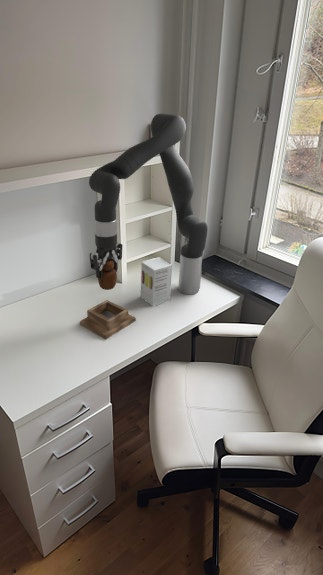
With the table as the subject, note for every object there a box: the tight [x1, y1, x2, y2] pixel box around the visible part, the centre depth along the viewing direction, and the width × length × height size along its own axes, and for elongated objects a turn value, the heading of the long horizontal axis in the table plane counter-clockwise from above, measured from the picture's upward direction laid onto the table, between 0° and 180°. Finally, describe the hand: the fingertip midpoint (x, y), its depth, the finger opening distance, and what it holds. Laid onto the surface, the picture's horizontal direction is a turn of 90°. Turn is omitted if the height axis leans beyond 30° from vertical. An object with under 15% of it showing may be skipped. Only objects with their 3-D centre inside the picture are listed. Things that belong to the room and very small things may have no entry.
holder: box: [79, 299, 137, 340], centre depth 156 cm, size 16×14×6 cm
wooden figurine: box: [97, 258, 118, 291], centre depth 146 cm, size 7×6×15 cm
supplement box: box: [140, 256, 173, 307], centre depth 170 cm, size 10×9×17 cm
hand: (107, 274), depth 147 cm, fingers closed on wooden figurine, 6 cm apart
